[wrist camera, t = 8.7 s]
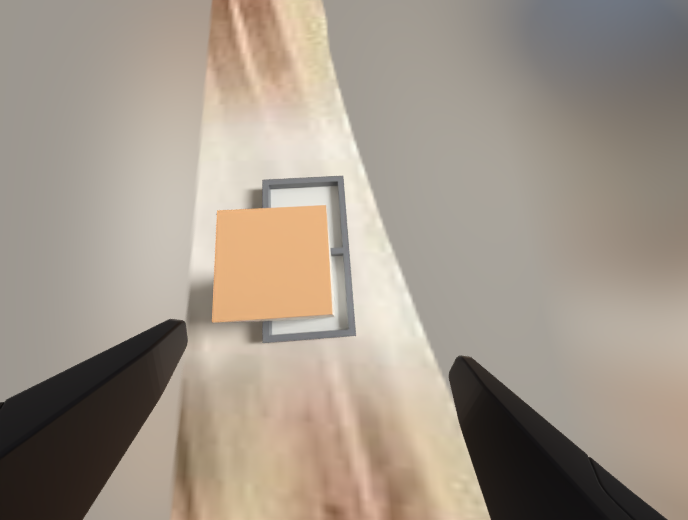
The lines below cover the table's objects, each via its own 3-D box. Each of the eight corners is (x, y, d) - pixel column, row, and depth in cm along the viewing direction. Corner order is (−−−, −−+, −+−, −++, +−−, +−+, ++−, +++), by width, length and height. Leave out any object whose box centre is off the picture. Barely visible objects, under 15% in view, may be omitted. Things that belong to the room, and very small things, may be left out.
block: (335, 316, 20) (332, 314, 9) (284, 320, 20) (211, 322, 8) (332, 268, 21) (326, 204, 9) (283, 270, 21) (217, 210, 9)
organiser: (354, 334, 21) (355, 335, 19) (267, 341, 20) (262, 343, 19) (342, 184, 24) (343, 175, 22) (267, 188, 23) (262, 179, 22)
